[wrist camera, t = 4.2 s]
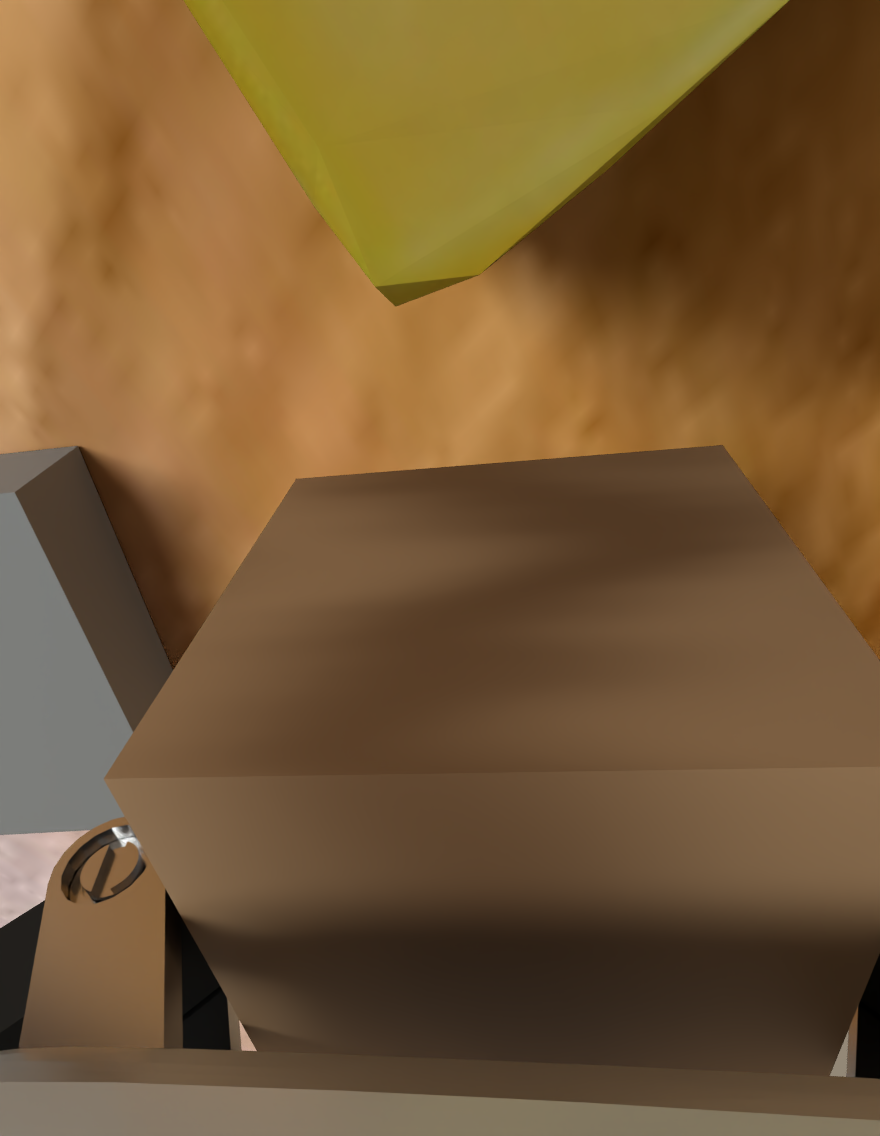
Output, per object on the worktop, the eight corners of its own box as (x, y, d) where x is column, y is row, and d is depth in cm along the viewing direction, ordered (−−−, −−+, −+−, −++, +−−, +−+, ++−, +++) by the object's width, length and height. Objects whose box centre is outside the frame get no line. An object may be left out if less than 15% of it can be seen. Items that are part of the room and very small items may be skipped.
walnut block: (722, 444, 10) (957, 766, 5) (689, 756, 13) (804, 1137, 8) (295, 479, 11) (103, 778, 6) (368, 761, 14) (289, 1108, 9)
